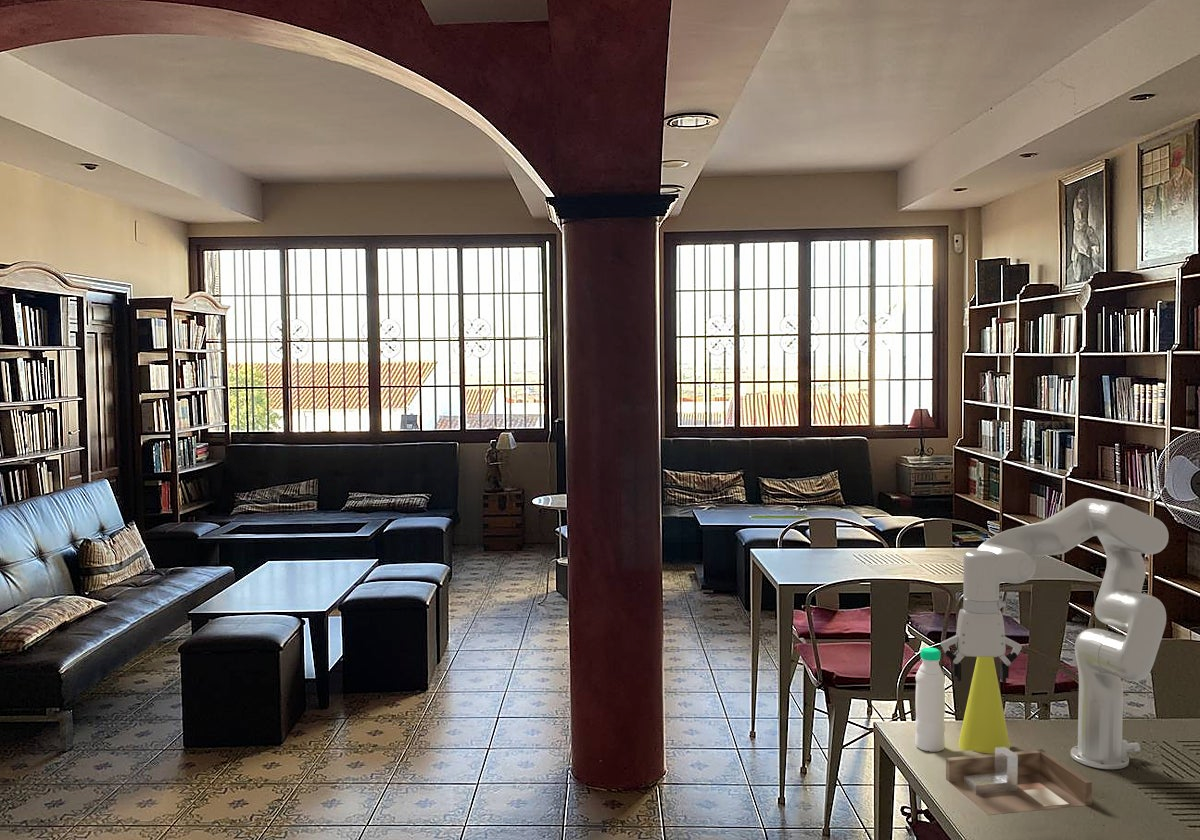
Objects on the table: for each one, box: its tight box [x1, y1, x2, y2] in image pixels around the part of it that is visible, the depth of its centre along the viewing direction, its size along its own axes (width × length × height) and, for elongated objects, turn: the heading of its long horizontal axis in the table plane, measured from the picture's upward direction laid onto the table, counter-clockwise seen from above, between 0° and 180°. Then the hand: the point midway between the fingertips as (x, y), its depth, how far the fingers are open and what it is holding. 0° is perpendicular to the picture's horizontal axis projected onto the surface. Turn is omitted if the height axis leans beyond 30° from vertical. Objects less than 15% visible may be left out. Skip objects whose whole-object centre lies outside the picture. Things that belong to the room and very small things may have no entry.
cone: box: [957, 657, 1011, 754], centre depth 248 cm, size 12×12×25 cm
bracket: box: [964, 747, 1018, 794], centre depth 224 cm, size 10×5×8 cm, turn 99°
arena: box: [945, 749, 1093, 816], centre depth 222 cm, size 24×18×6 cm
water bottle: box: [914, 646, 946, 753], centre depth 249 cm, size 7×7×25 cm
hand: (980, 680), depth 226 cm, fingers open, 9 cm apart
